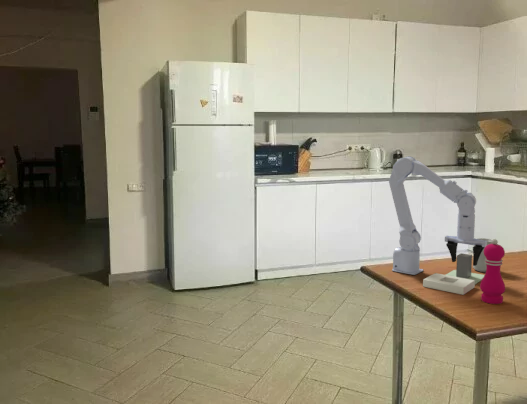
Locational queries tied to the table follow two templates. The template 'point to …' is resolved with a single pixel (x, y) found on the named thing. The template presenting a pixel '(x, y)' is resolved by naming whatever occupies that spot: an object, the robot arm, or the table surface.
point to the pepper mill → (493, 274)
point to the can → (482, 258)
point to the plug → (464, 265)
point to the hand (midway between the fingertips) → (464, 263)
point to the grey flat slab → (449, 283)
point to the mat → (473, 277)
